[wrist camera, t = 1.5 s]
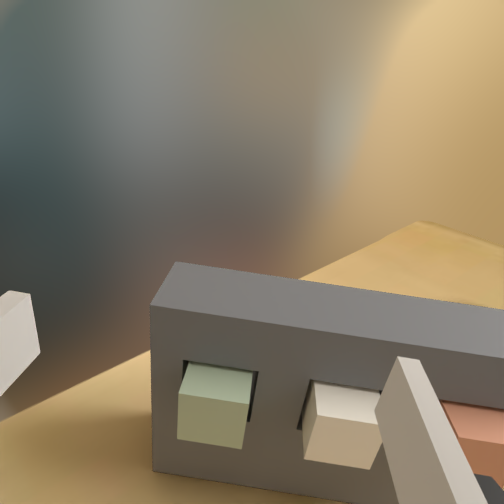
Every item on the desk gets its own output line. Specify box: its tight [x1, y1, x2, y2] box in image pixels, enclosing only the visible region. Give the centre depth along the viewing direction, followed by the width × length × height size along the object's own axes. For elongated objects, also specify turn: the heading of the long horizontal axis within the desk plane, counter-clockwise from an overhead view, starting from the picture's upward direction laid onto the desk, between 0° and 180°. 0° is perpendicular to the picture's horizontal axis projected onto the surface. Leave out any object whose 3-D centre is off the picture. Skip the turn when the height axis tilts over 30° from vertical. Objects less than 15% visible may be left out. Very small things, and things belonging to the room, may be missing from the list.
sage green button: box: [177, 361, 253, 449], centre depth 26 cm, size 5×6×5 cm
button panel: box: [150, 262, 504, 504], centre depth 29 cm, size 28×6×18 cm, turn 85°
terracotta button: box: [439, 399, 504, 488], centre depth 25 cm, size 5×6×5 cm
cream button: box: [302, 379, 382, 470], centre depth 26 cm, size 5×6×5 cm
